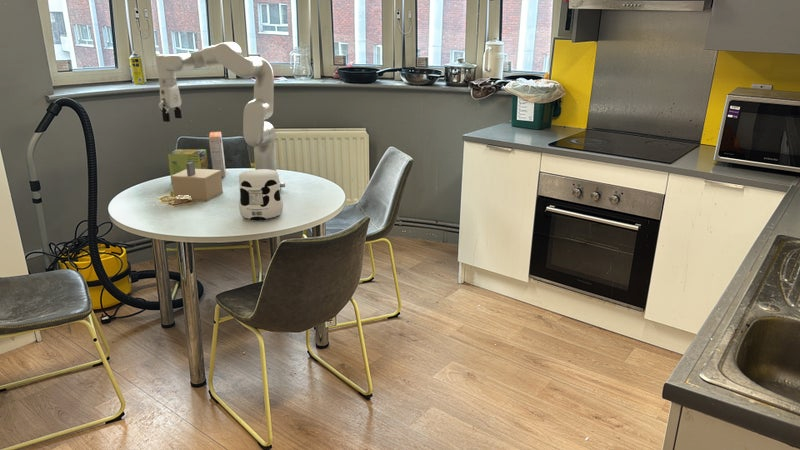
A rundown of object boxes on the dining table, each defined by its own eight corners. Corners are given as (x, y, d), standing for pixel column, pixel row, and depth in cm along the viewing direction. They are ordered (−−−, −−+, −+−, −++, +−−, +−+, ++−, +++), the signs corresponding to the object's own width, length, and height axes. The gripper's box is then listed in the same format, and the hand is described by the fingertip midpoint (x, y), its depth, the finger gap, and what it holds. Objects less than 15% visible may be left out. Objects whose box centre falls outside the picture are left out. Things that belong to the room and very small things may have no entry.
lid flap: (221, 171, 276) (219, 158, 274) (205, 179, 263) (203, 165, 261) (188, 169, 279) (186, 156, 277) (171, 177, 266) (169, 163, 264)
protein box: (203, 185, 291) (199, 153, 286) (171, 185, 292) (167, 153, 286) (210, 180, 301) (206, 149, 296) (179, 180, 301) (175, 149, 296)
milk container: (271, 207, 257) (268, 166, 251) (291, 218, 244) (288, 174, 238) (233, 216, 247) (228, 173, 241) (251, 227, 234) (247, 181, 228)
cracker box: (213, 171, 317) (209, 131, 310) (225, 170, 318) (221, 131, 311) (212, 178, 304) (208, 136, 297) (225, 177, 305) (220, 136, 298)
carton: (222, 192, 279) (220, 171, 276) (207, 201, 266) (204, 179, 263) (191, 190, 283) (188, 169, 279) (174, 199, 270) (171, 177, 266)
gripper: (164, 84, 269) (169, 123, 274) (185, 80, 284) (189, 117, 290) (149, 84, 270) (154, 122, 276) (171, 80, 286) (175, 116, 292)
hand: (172, 119), depth 283 cm, fingers open, 9 cm apart
